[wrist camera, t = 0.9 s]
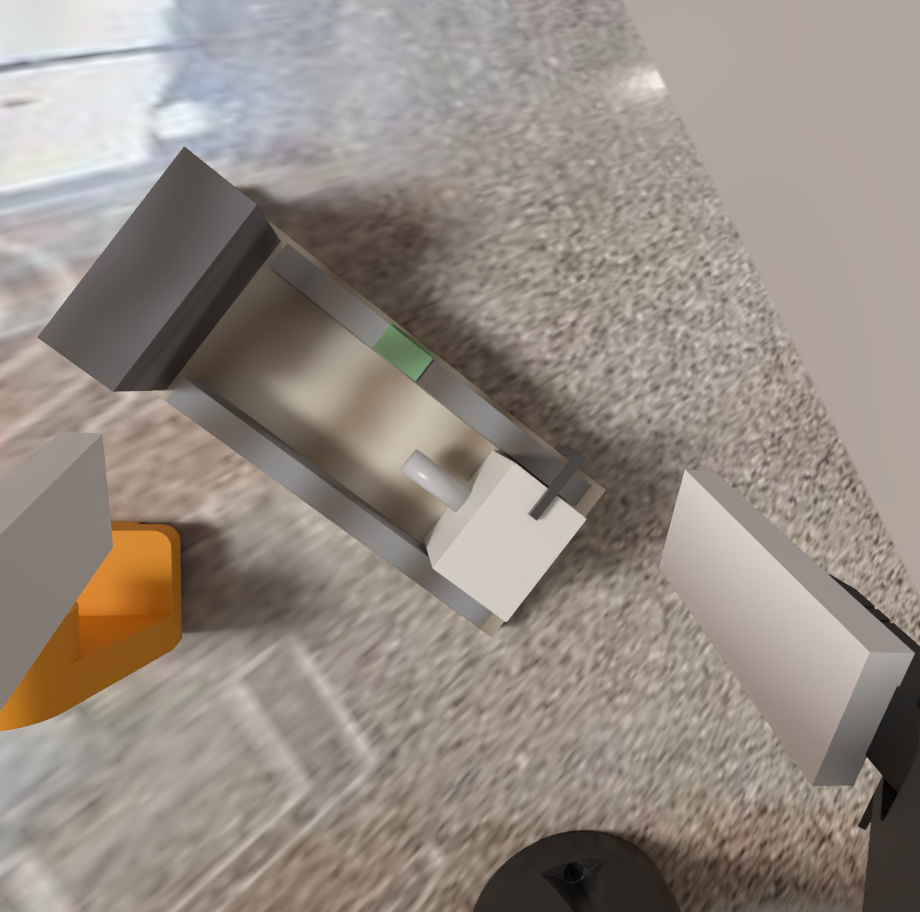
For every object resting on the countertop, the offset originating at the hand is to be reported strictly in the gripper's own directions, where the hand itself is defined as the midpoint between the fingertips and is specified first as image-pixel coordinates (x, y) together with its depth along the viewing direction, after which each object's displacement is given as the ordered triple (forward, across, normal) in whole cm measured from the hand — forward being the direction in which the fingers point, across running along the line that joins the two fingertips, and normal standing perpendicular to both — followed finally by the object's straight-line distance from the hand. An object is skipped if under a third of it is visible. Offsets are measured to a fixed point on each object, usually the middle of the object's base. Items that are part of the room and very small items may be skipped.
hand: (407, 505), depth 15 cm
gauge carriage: (+24, -6, +10) cm, 27 cm away
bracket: (+24, +17, +19) cm, 35 cm away
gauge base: (+27, +1, +8) cm, 28 cm away
